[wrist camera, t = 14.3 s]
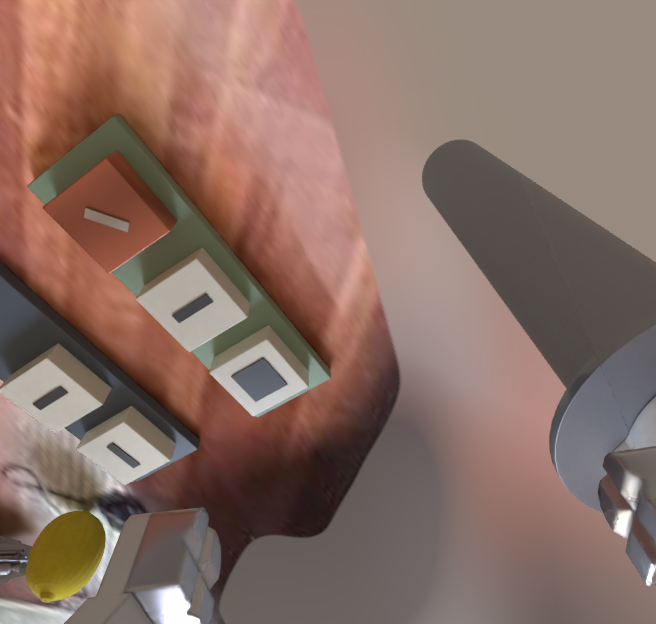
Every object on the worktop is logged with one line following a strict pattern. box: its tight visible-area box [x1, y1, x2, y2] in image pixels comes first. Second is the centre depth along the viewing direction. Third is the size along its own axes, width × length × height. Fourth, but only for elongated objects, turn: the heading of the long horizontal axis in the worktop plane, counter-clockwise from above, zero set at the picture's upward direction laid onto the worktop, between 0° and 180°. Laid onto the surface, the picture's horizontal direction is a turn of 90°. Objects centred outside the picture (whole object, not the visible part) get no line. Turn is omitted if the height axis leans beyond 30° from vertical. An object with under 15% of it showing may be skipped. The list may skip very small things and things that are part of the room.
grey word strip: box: [0, 262, 200, 485], centre depth 34 cm, size 22×7×3 cm, turn 33°
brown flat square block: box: [43, 151, 177, 274], centre depth 27 cm, size 5×5×2 cm
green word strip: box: [27, 114, 331, 417], centre depth 31 cm, size 22×7×3 cm, turn 33°
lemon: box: [26, 510, 105, 602], centre depth 40 cm, size 6×6×8 cm
